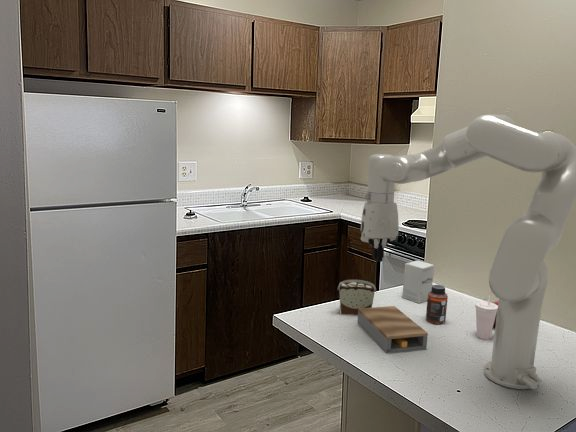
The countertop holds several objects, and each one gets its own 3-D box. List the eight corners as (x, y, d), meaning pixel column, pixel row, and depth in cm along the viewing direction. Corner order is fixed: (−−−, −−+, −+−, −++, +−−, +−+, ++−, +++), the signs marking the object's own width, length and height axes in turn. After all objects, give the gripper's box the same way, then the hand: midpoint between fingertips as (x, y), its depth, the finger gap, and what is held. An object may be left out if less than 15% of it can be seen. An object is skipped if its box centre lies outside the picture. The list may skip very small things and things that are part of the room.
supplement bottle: (447, 325, 158) (451, 290, 155) (428, 324, 158) (431, 289, 156) (442, 317, 164) (445, 283, 161) (423, 316, 164) (426, 283, 161)
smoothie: (497, 342, 147) (502, 295, 144) (473, 339, 148) (478, 293, 145) (492, 332, 153) (498, 288, 150) (470, 330, 154) (475, 286, 151)
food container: (373, 309, 169) (375, 280, 167) (375, 316, 163) (377, 286, 161) (336, 307, 170) (337, 278, 168) (336, 314, 164) (337, 284, 162)
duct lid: (427, 335, 141) (427, 332, 140) (387, 339, 137) (387, 336, 137) (394, 308, 159) (394, 305, 159) (358, 311, 156) (358, 308, 156)
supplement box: (419, 304, 175) (422, 268, 172) (401, 297, 180) (404, 263, 178) (431, 299, 179) (435, 264, 177) (414, 293, 185) (417, 259, 182)
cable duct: (426, 349, 141) (427, 335, 141) (386, 353, 138) (387, 339, 137) (393, 320, 160) (394, 308, 159) (357, 323, 157) (358, 311, 156)
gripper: (361, 201, 140) (358, 265, 144) (410, 199, 144) (406, 262, 148) (350, 196, 148) (348, 258, 151) (398, 195, 151) (395, 255, 155)
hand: (377, 260), depth 149 cm, fingers closed
